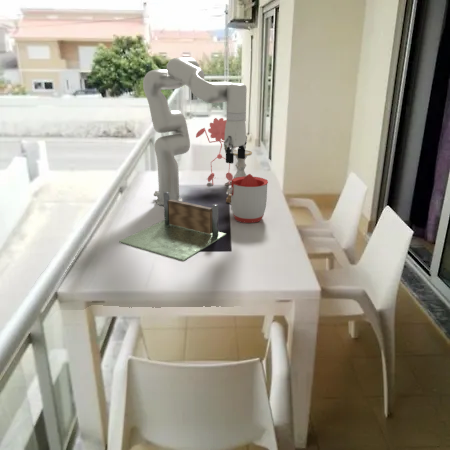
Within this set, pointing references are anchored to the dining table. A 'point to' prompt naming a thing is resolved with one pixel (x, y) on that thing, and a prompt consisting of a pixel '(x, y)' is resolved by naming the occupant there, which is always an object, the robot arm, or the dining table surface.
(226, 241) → the dining table surface
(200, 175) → the dining table surface
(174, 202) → the gate
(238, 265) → the dining table surface
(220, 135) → the figurine
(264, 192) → the citrus juicer
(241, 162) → the candle holder
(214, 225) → the gate frame
